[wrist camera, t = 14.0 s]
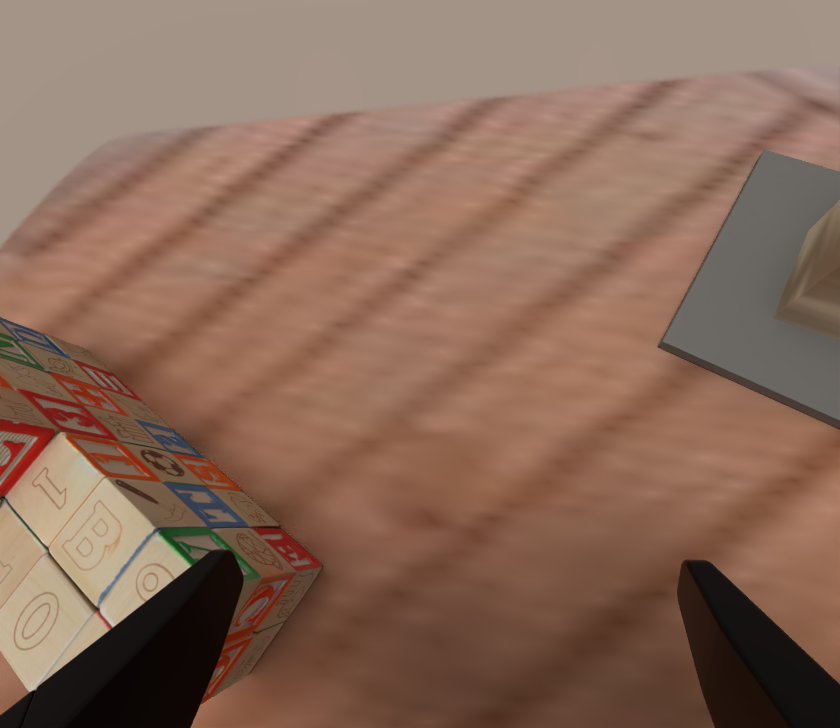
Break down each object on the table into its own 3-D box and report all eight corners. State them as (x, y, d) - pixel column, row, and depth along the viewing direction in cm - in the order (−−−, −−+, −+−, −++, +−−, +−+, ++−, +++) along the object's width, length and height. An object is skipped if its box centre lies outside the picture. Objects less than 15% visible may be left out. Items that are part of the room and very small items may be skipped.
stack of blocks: (329, 563, 23) (146, 611, 12) (250, 677, 22) (-32, 848, 11) (86, 348, 30) (-177, 245, 19) (19, 428, 29) (-301, 372, 18)
